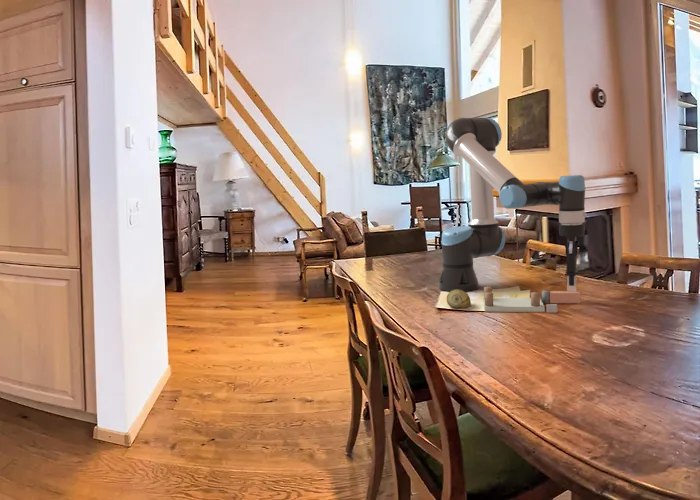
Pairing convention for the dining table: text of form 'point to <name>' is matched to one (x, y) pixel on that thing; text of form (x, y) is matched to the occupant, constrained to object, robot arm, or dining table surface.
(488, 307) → the pale board with pegs
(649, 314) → the dining table surface
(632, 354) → the dining table surface
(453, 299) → the seashell
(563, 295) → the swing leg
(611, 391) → the dining table surface
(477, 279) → the robot arm
